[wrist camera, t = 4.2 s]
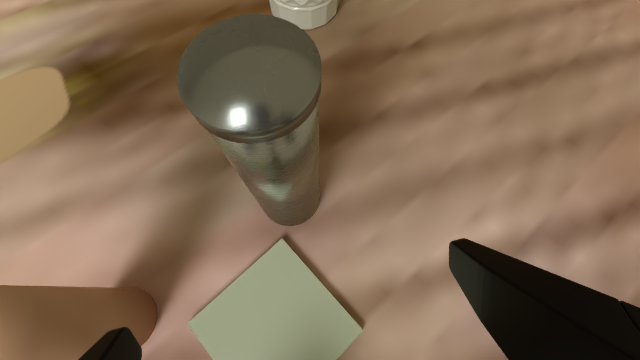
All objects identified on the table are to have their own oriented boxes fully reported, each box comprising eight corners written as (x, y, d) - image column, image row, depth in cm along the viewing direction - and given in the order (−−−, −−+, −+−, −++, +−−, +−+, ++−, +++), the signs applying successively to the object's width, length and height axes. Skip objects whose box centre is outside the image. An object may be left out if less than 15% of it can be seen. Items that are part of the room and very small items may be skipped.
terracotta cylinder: (168, 321, 20) (55, 344, 11) (114, 369, 19) (-54, 433, 10) (136, 275, 21) (11, 263, 12) (83, 318, 20) (-92, 338, 11)
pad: (362, 329, 20) (363, 330, 19) (267, 432, 18) (266, 435, 17) (282, 239, 22) (281, 238, 21) (189, 322, 20) (187, 323, 19)
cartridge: (333, 198, 23) (351, 70, 10) (287, 240, 22) (236, 160, 8) (293, 157, 24) (260, -6, 11) (247, 195, 23) (148, 64, 10)
